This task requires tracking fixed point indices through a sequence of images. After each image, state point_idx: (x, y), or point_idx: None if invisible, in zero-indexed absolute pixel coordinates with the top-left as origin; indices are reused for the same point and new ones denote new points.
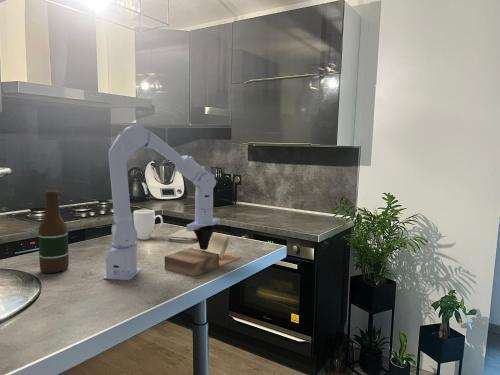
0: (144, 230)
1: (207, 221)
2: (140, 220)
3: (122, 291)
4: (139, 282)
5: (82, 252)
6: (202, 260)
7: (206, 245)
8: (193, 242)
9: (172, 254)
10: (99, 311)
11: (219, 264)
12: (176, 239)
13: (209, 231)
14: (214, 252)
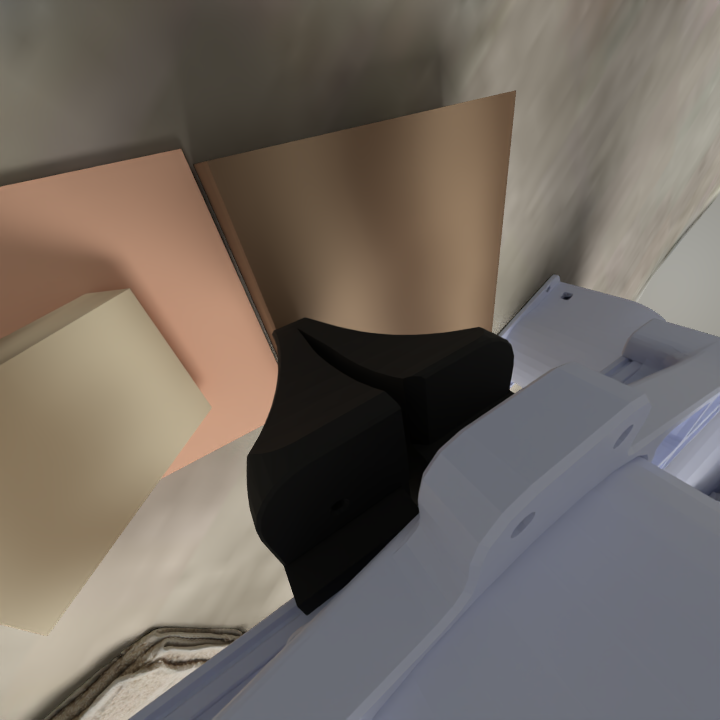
0: None
1: (684, 506)
2: None
3: (616, 190)
4: (559, 232)
5: None
6: (439, 109)
7: (308, 329)
8: (135, 644)
9: None
10: (710, 88)
11: (180, 174)
12: (223, 644)
13: (399, 372)
14: (147, 363)
